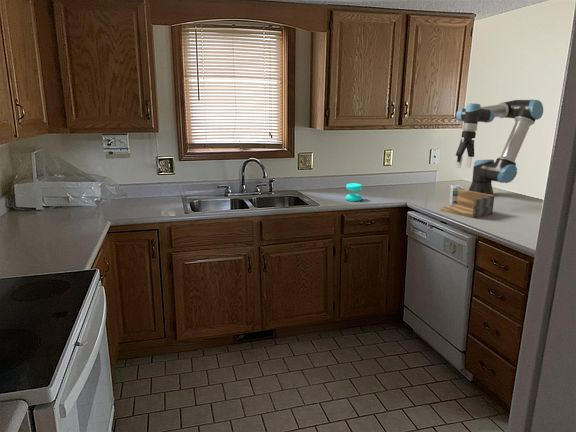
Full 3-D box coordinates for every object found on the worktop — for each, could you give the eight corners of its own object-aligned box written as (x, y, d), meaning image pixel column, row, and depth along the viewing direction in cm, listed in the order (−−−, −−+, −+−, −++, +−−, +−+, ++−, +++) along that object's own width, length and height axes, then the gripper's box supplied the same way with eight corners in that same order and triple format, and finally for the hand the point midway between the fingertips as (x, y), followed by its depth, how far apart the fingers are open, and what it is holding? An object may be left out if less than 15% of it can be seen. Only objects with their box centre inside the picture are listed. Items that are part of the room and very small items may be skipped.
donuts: (359, 182, 280) (364, 185, 271) (358, 198, 283) (363, 201, 273) (344, 183, 279) (348, 186, 269) (343, 198, 281) (348, 202, 272)
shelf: (457, 206, 258) (459, 189, 255) (492, 214, 241) (494, 195, 238) (440, 210, 249) (441, 192, 247) (474, 218, 232) (476, 198, 229)
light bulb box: (463, 206, 259) (465, 188, 256) (451, 205, 260) (452, 187, 258) (460, 202, 269) (461, 185, 266) (448, 202, 270) (450, 184, 268)
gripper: (471, 131, 266) (465, 166, 271) (453, 129, 249) (447, 166, 253) (484, 132, 261) (477, 168, 266) (466, 130, 244) (460, 168, 248)
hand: (463, 167), depth 259 cm, fingers open, 13 cm apart
